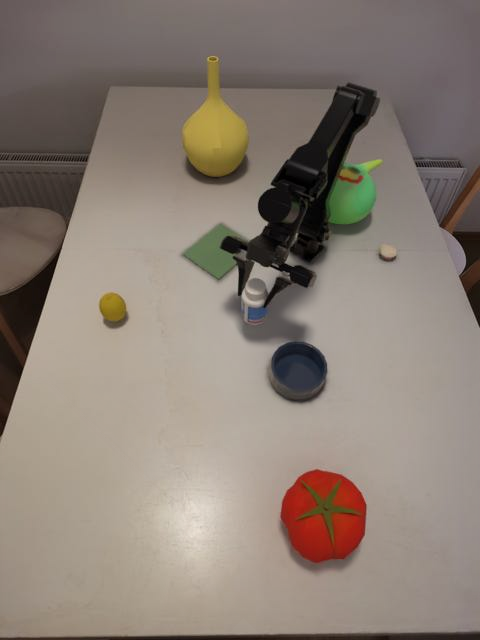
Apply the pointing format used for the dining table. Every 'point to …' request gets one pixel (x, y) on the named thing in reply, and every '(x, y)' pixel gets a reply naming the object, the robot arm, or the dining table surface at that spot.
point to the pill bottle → (254, 301)
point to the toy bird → (353, 193)
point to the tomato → (324, 516)
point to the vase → (215, 132)
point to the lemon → (112, 306)
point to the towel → (213, 252)
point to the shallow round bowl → (298, 370)
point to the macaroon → (388, 252)
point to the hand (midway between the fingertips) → (251, 301)
